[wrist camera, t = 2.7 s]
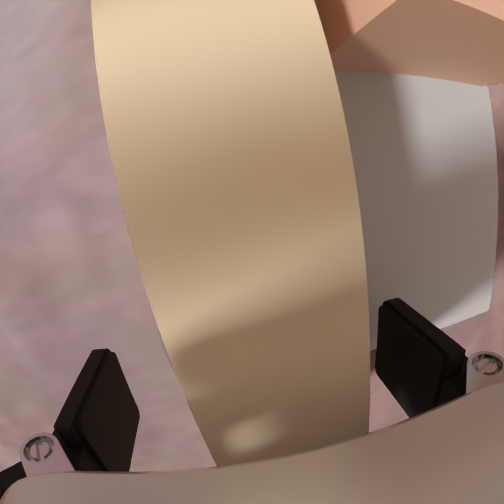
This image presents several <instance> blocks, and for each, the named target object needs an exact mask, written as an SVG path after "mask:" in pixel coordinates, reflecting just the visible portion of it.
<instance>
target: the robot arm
mask: <svg viewBox="0 0 504 504" xmlns="http://www.w3.org/2000/svg"><path fill="white" fill-rule="evenodd" d="M465 352H466V350H465V349H464V348H463V347H461V346H460V345H459V344H458V343H456V342H455V341H454V340H453V339H451V338H450V337H449V336H448V335H446V334H445V333H444V332H443V331H441V330H440V329H439V328H438V327H436V326H435V325H434V324H433V323H431V322H430V321H429V320H427V319H426V318H425V317H424V316H422V315H421V314H420V313H418V312H417V311H416V310H415V309H413V308H412V307H411V306H409V305H408V304H407V303H405V302H404V301H403V300H402V299H400V298H394V299H390V300H386V301H384V302H383V304H382V306H380V307H379V311H378V332H377V348H376V361H375V370H376V373H377V375H378V376H379V378H380V379H381V380H382V382H383V383H384V384H385V386H386V387H387V388H388V390H389V391H390V392H391V394H392V395H393V396H394V398H395V399H396V400H397V402H398V403H399V404H400V406H401V407H402V408H403V410H404V411H405V412H406V414H407V415H408V416H409V418H408V419H406V420H403V421H401V422H398V423H396V424H393V425H390V426H387V427H385V428H382V429H379V430H376V431H373V432H370V433H367V434H364V435H361V436H358V437H355V438H351V439H348V440H345V441H341V442H338V443H334V444H330V445H327V446H323V447H319V448H315V449H311V450H307V451H303V452H299V453H294V454H290V455H285V456H280V457H275V458H270V459H265V460H259V461H253V462H247V463H240V464H233V465H226V466H218V467H209V468H199V469H187V470H172V471H145V472H129V469H130V464H131V458H132V453H133V448H134V443H135V438H136V433H137V428H138V423H139V418H140V415H139V410H138V407H137V405H136V403H135V400H134V398H133V396H132V393H131V391H130V389H129V386H128V384H127V382H126V379H125V377H124V374H123V372H122V369H121V367H120V364H119V361H118V359H117V356H116V354H115V353H114V352H111V351H110V350H109V349H108V348H107V349H96V350H93V351H92V352H91V354H90V355H89V357H88V359H87V361H86V363H85V365H84V367H83V368H82V370H81V372H80V374H79V376H78V378H77V380H76V382H75V384H74V386H73V388H72V390H71V392H70V394H69V396H68V398H67V400H66V402H65V404H64V406H63V408H62V410H61V412H60V414H59V416H58V418H57V420H56V422H55V424H54V428H55V429H54V432H53V434H50V433H45V432H43V433H37V434H34V435H32V436H30V437H29V438H27V439H26V440H25V441H24V442H23V444H22V445H21V447H20V451H19V454H20V459H21V462H19V463H17V464H15V465H13V466H11V467H9V468H7V469H5V470H3V471H1V472H0V504H504V358H503V357H502V356H500V355H499V354H496V353H494V352H489V351H480V352H476V353H474V354H472V355H471V356H470V357H469V358H467V357H466V356H465Z"/></svg>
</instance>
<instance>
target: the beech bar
mask: <svg viewBox="0 0 504 504" xmlns="http://www.w3.org/2000/svg"><path fill="white" fill-rule="evenodd" d="M91 10H92V26H93V39H94V50H95V59H96V68H97V77H98V84H99V92H100V98H101V105H102V111H103V118H104V124H105V129H106V135H107V140H108V146H109V151H110V156H111V161H112V165H113V170H114V175H115V179H116V184H117V188H118V192H119V197H120V201H121V205H122V209H123V213H124V217H125V221H126V225H127V228H128V232H129V236H130V240H131V243H132V247H133V250H134V254H135V257H136V261H137V264H138V267H139V271H140V274H141V277H142V281H143V284H144V287H145V290H146V293H147V296H148V299H149V302H150V305H151V308H152V311H153V314H154V317H155V320H156V323H157V326H158V329H159V331H160V334H161V337H162V340H163V342H164V345H165V348H166V350H167V353H168V356H169V358H170V361H171V363H172V366H173V369H174V371H175V374H176V376H177V379H178V381H179V384H180V386H181V388H182V391H183V393H184V396H185V398H186V400H187V403H188V405H189V407H190V410H191V412H192V414H193V416H194V419H195V421H196V423H197V425H198V427H199V430H200V432H201V434H202V436H203V438H204V440H205V442H206V445H207V447H208V449H209V451H210V453H211V455H212V457H213V459H214V461H215V463H216V465H217V467H218V466H226V465H233V464H240V463H247V462H253V461H259V460H265V459H270V458H275V457H280V456H285V455H290V454H294V453H299V452H303V451H307V450H311V449H315V448H319V447H323V446H327V445H330V444H334V443H338V442H341V441H345V440H348V439H351V438H355V437H358V436H361V435H364V434H367V433H368V432H369V410H370V329H369V306H368V289H367V275H366V262H365V251H364V241H363V232H362V223H361V215H360V207H359V199H358V192H357V185H356V178H355V172H354V166H353V160H352V154H351V148H350V143H349V137H348V132H347V127H346V122H345V117H344V112H343V107H342V103H341V98H340V93H339V89H338V85H337V81H336V76H335V72H334V68H333V64H332V60H331V57H330V53H329V49H328V45H327V42H326V38H325V35H324V31H323V28H322V24H321V21H320V18H319V14H318V11H317V8H316V5H315V2H314V0H91Z"/></svg>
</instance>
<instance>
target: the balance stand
mask: <svg viewBox="0 0 504 504" xmlns="http://www.w3.org/2000/svg"><path fill="white" fill-rule="evenodd" d="M314 2H315V5H316V8H317V11H318V14H319V18H320V21H321V24H322V28H323V31H324V35H325V38H326V42H327V45H328V49H329V53H330V57H331V60H332V64H333V68H334V72H335V76H336V81H337V85H338V89H339V93H340V98H341V103H342V107H343V112H344V117H345V122H346V127H347V132H348V137H349V143H350V148H351V154H352V160H353V166H354V172H355V178H356V185H357V192H358V199H359V207H360V215H361V223H362V232H363V241H364V251H365V262H366V275H367V289H368V306H369V329H370V351H371V350H375V349H376V348H377V332H378V311H379V307H380V306H382V304H383V302H384V301H386V300H390V299H394V298H400V299H402V300H403V301H404V302H405V303H407V304H408V305H409V306H411V307H412V308H413V309H415V310H416V311H417V312H418V313H420V314H421V315H422V316H424V317H425V318H426V319H427V320H429V321H430V322H431V323H433V324H434V325H435V326H436V327H438V328H439V329H441V328H444V327H446V326H449V325H452V324H455V323H457V322H460V321H463V320H465V319H468V318H470V317H473V316H475V315H478V314H480V313H483V312H485V311H488V310H489V306H490V300H491V293H492V286H493V278H494V270H495V260H496V248H497V232H498V168H497V152H496V141H495V131H494V123H493V115H492V108H491V102H490V96H489V90H488V85H493V84H499V83H504V0H314Z"/></svg>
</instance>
